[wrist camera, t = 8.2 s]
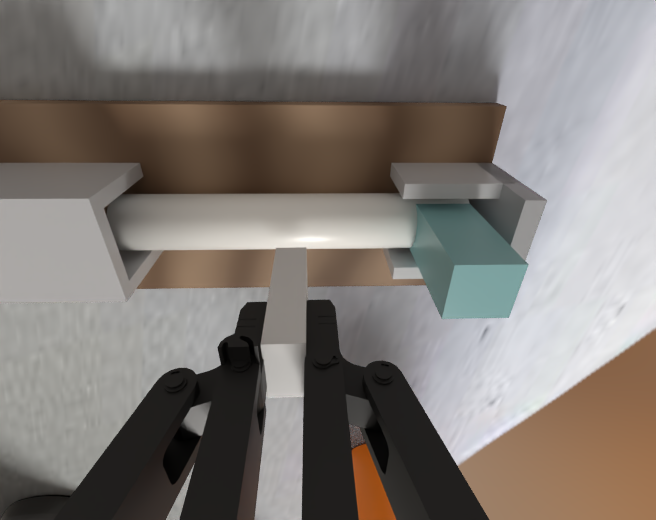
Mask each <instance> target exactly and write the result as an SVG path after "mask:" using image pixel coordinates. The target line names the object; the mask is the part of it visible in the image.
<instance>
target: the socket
mask: <svg viewBox="0 0 656 520" xmlns="http://www.w3.org/2000/svg"><path fill="white" fill-rule="evenodd" d="M390 177H391V179H392V180H393V182H394V184H395V186H396V187H397V189H398V191H399V193H400V194H401V196H402V198H403V199H468V200H469V203H470V204H471V205H472V206H473V207H474V208H475V209H476V211H477V212H478V213H479V214H480V215H481V216H482V217H483V218H484V219H485V220H486V221H487V222H488V223H489V224H490V225H491V226H492V227H493V228H494V229H495V230H496V231H497V232H498V233H499V234H500V235H501V236H502V237H503V239H504V240H505V241H506V242H507V243H508V244H509V245H510V246H511V247H512V248H513V249H514V250H515V251H516V252H517V253H518V254H519V255H520V256H521V257H522V258H523V259H524V260H526V258H527V255H528V252H529V249H530V246H531V244H532V241H533V238H534V235H535V233H536V230H537V227H538V224H539V222H540V219H541V216H542V213H543V211H544V208H545V205H546V202H547V200H546V199H544V198H543V197H541V196H540V195H538V194H537V193H536V192H534V191H533V190H531V189H530V188H528V187H527V186H525V185H524V184H522V183H521V182H519V181H518V180H516V179H515V178H514V177H512V176H511V175H509V174H508V173H506V172H505V171H503V170H502V169H500V168H499V167H497V166H496V165H494V164H493V163H391V172H390ZM382 249H383V252H384V255H385V258H386V261H387V264H388V267H389V270H390V273H391V276H392V279H423V277H422V275H421V273H420V270H419V268H418V266H417V264H416V262H415V260H414V257H413V255H412V253H411V251H410V249H409V248H382Z"/></svg>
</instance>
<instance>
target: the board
mask: <svg viewBox="0 0 656 520" xmlns="http://www.w3.org/2000/svg"><path fill="white" fill-rule="evenodd" d="M505 110H506V106H504V105H501V104H498V103H408V102H247V101H86V100H0V163H140V165H141V169H142V173H143V177H142V178H141V179H140V180H138V181H137V182H136V183H135V184H133V185H132V186H131V187H130V188H128V189H127V190H126V191H125V192H123V193H122V194H305V193H399V191H398V189H397V187H396V186H395V184H394V182H393V180H392V179H391V177H390V172H391V163H492V161H493V157H494V153H495V149H496V145H497V141H498V138H499V134H500V130H501V126H502V122H503V118H504V114H505ZM108 205H109V204H108ZM108 205H107V206H106V207H104V210H105V213H106V215H107V208H108ZM275 251H276V249H247V250H164V251H163V252H162V253H161V255H160V256H159V258H158V259H157V260H156V262H155V263H154V265H153V266H152V267H151V269H150V270H149V272H148V273H147V274H146V276H145V277H144V279H143V280H142V281H141V283H140V284H139V286H138V287H137V288H136V289H156V288H237V287H270V282H271V276H272V270H273V263H274V257H275ZM307 284H308V287H317V286H398V285H426V283H425V281H424V279H392V276H391V273H390V270H389V267H388V264H387V261H386V258H385V255H384V252H383V249H382V248H364V249H307Z"/></svg>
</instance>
